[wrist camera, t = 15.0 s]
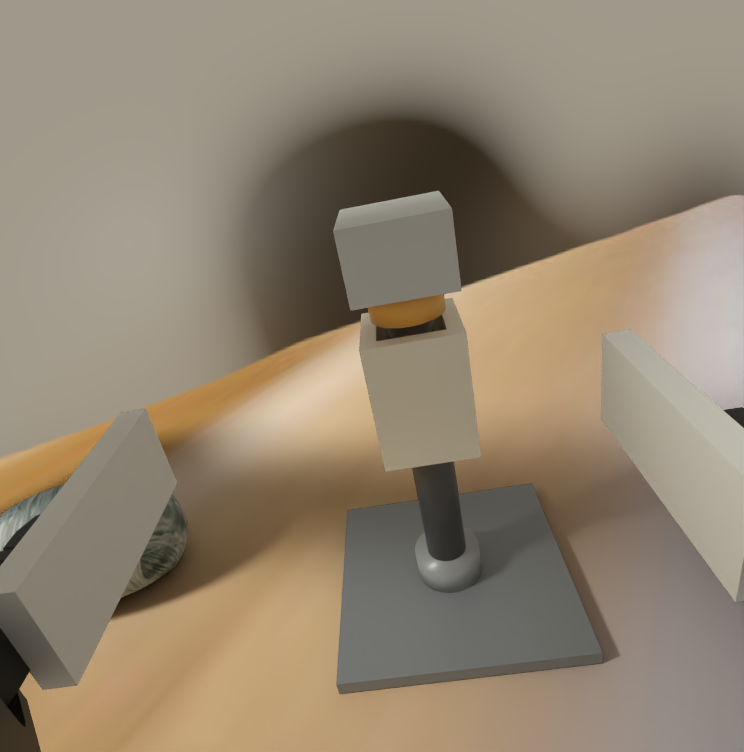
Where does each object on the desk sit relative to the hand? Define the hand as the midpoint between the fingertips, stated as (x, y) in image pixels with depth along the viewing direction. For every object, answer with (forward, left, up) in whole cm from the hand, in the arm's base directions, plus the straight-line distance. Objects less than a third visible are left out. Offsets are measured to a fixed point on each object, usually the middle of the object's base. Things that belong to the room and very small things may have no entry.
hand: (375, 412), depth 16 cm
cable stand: (-10, +7, -20) cm, 23 cm away
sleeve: (-10, +7, -9) cm, 15 cm away
